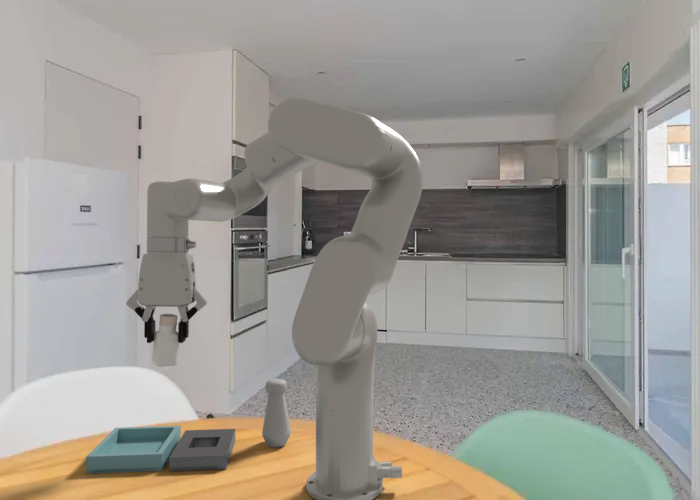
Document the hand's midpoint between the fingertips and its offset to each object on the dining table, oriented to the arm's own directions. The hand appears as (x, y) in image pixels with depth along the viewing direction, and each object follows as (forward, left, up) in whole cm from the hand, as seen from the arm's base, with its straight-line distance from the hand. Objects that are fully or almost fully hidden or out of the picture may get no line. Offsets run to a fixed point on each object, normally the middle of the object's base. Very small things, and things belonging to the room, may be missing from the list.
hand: (166, 340), depth 102 cm
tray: (+6, 0, -22) cm, 23 cm away
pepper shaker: (0, 0, -5) cm, 5 cm away
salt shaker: (-21, -4, -22) cm, 31 cm away
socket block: (-7, +1, -22) cm, 23 cm away
